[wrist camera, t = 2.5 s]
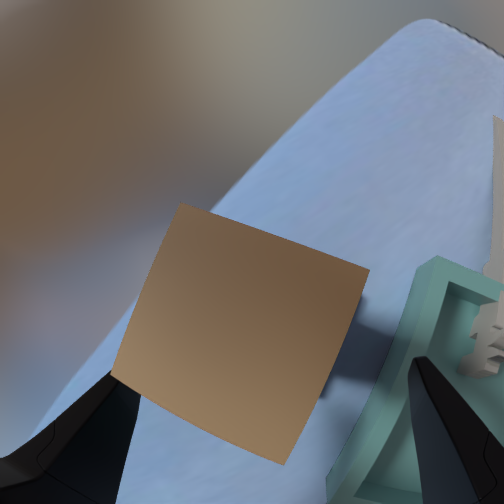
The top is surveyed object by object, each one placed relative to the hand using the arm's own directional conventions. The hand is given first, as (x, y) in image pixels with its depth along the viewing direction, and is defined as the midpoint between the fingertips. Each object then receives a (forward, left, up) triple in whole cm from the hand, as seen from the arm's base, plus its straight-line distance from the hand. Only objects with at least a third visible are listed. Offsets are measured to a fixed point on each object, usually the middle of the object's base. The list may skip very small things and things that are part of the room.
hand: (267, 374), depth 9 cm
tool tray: (0, -12, -9) cm, 15 cm away
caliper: (+12, -10, -10) cm, 19 cm away
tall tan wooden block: (+1, +1, -9) cm, 9 cm away
